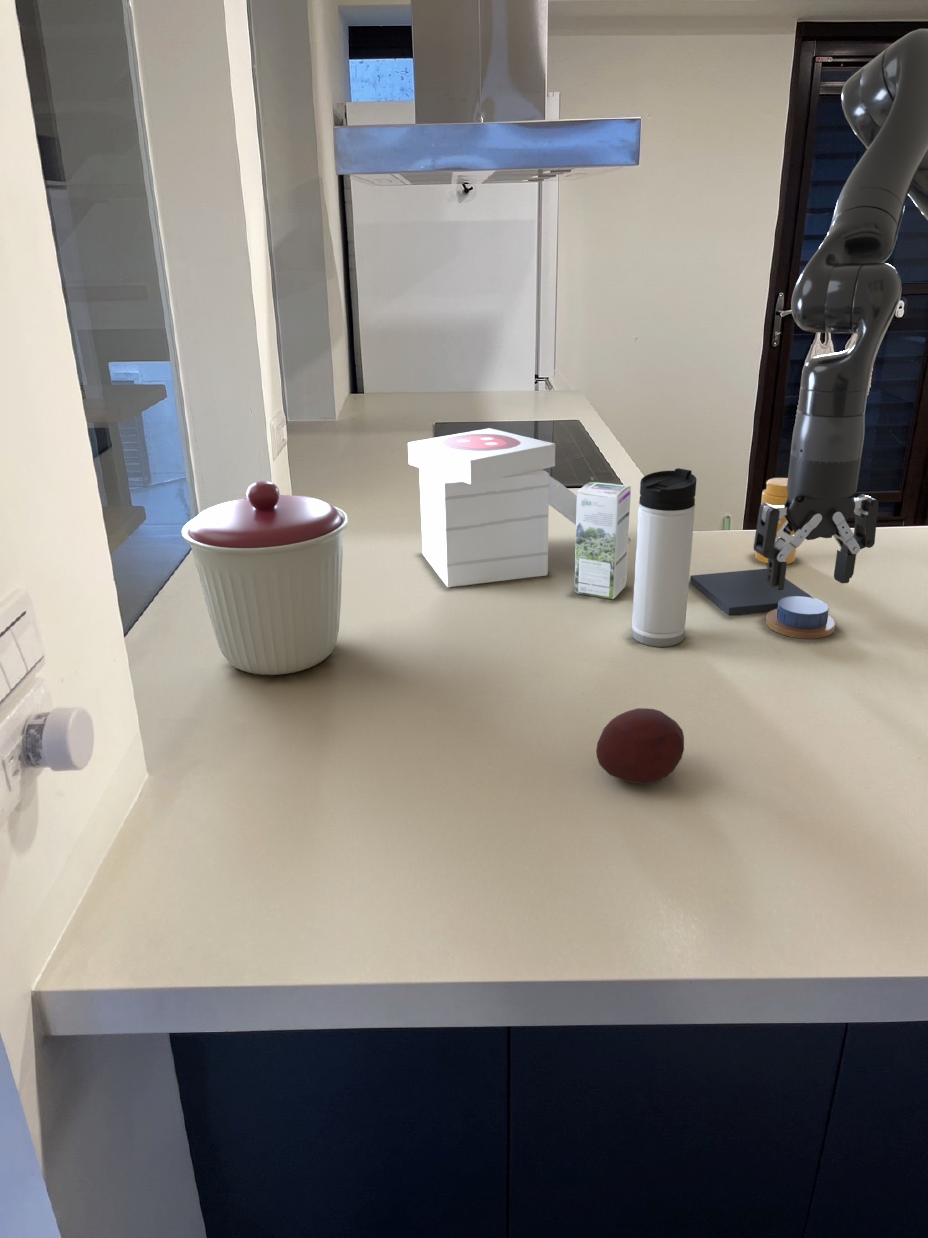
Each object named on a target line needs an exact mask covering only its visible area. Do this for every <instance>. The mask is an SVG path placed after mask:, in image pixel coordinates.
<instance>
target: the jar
mask: <svg viewBox="0 0 928 1238" xmlns="http://www.w3.org/2000/svg"><path fill="white" fill-rule="evenodd" d="M787 482H788V477H772V478H769V479H767V480H766V482H765V485H766V486H765V487H766V488H765V489H762V492H761V498H760V501H761V502H760V505H761V504H763V503H768V504H769V505H771V506H779V505H784V504H785V502H786V500H787V498H788V490H787ZM781 521H782V522H781V523H780V524H778V526H777V532H778V531H779V530H780V528H781V527H782V526H783V525H784V523H785V522H786V521H787V519H786V518H785V516H783V517H782V519H781ZM777 532H776V537H777ZM794 534H795V532H794V531H792V532H791V534H790V536H792V535H794ZM775 539H776V538H775ZM754 553H755V555H754V558H755V559H756V560H757V561H759V562H761V563H764V564H767V565H768V558H765V557H764V556H762V555H761V554H759V553H758V552H756V551H755V552H754ZM796 554H797V548H794V549H793V550H792V552H791V553H790V554H789V556H788V557H787V558H786V559H785V561H787V565H790V564H792V563H794V562H795V561H796Z"/></svg>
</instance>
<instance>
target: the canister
mask: <svg viewBox="0 0 928 1238" xmlns="http://www.w3.org/2000/svg"><path fill="white" fill-rule="evenodd" d="M349 521H350V520H349V515H348V514H347V513H346V512H345V511H344V510H342V509H340V508H339V507H336V506H334V505H332V504H331V503H329V502H328V501H325V500H322V499H320V498H319V499H318V498H316V497H311V496H306V495H294V494H293V495H292V494H281V493H280V489H279V487H278V485H276V484H275V483H273V482H272V481H269V480H259V481H256V482H253V483H252V484H251V485H249V486H248V488H247V490H246V497H242V498H237V499H232V500H229V501H225V502H222V503H218V504H215V505H213V506H210V507H208V508H207V509H204V510H202V511H201V512H200V513H199V514H197V516H195V517H194V518H192V519H191V520H189V521H188V522H187V523H186V524H185V525H184V526H183V527H182V529H181V535H182V538H183V540H184V541H185V542H186V543H187V544H189V545H190V548H191V552H192V555H193V560H194V564H195V567H196V571H197V575H198V579H199V581H200V586H201V590H202V593H203V597H204V601H205V605H206V608H207V611H208V612H207V613H208V616H209V618H210V622H211V625H212V628H213V631H214V632H213V633H214V636H215V639H216V641H217V644H218V647H219V650H220V652H221V654H222V655H223V657H224V658H225V660H226V661H227V662H228V663H229V664H230V665H231V666H233V667H234V668H235V669H238V670H240V671H242V672H246V673H248V674H254V675H262V676H274V675H275V676H276V675H277V676H280V675H288V674H294V673H297V672H303V671H305V670H307V669H310V668H312V667H314V666H317V665H318V664H321V663H322V662H323V661H325V660H326V659H327V658H328V657H329V656H330V655H331V654H332V652H333V651H334V648H335V647H336V645H337V642H338V637H339V633H340V623H341V622H340V619H341V605H342V584H343V583H342V582H343V557H344V556H343V555H344V553H343V552H344V531H345V530H346V529H347V527H348V525H349Z"/></svg>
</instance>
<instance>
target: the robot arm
mask: <svg viewBox="0 0 928 1238" xmlns="http://www.w3.org/2000/svg"><path fill="white" fill-rule="evenodd" d="M840 101H841V107H842V111H843V114H844V117H845V119H846V120H847V122H848V124H849V126H850V127H851V129H852V131H853V132H854V134H855V135H856V136H857V138H858V139H859V140H860V141H861V143H862V144H863V145H864V146H865V148H866V150H865V152H864V153H863V155H862V156H861V158H860V159H859V161H858V162H857V163H856V164H855V167H854V168H853V170H852V171H851V173H850V175H849V176H848V178H847V179H846V182H845V183H844V185H843V187H842V189H841V192H840V194H839V197H838V199H837V202H836V206H835V209H834V212H833V215H832V220H831V223H830V227H829V230H828V232H827V235H826V236H825V238H824V240H823V241H822V243H821V244H820V246H819V247H818V249H817V250H816V252H815V253H814V254H813V256H812V257H811V258H810V260H809V261H808V262H807V264H806V266H805V267H804V269H803V270H802V272H801V273H800V275H799V277H798V279H797V281H796V283H795V286H794V289H793V292H792V295H791V303H790V305H791V306H790V309H791V316H792V317H793V320H794V322H795V323H796V325H797V327H799V328H800V329H801V330H803V331H805V332H808V333H809V332H810V333H819V334H820V333H821V334H822V333H824V334H825V333H826V334H828V333H829V334H830V333H831V334H857V335H856V338H855V341H854V343H853V344H852V345H851V346H850V347H849V348H847V349H845V350H843V351H839V352H833V353H829V354H823V355H822V354H821V355H817V356H814V357H811V358H809V359H808V360H806V362H805V363H804V365H803V367H802V372H801V378H800V388H799V397H798V405H797V414H796V418H795V423H794V426H793V431H792V436H791V437H792V439H791V443H790V444H791V445H790V455H789V466H788V474H787V478H788V482H787V490H788V498H787V500H786V502H785V504H784V505H779V506H771V505H769V504H768V503H763V504H761V503H760V506H759V510H758V516H757V523H756V529H755V535H754V541H753V551H754V552H755V553H756V552H758V553H759V554H761V555H762V556H764V557H765V558H768V564H767V566H766V567H767V568H766V569H767V576H766V579H767V582H768V583H769V584H770V586H771V587H772V588H774V589H775V590H783V589H784V583H785V578H786V573H787V567H788V564H787V561H785V559H786V558H787V557H788V556H789V554H790V553H791V552H792V550H793V549H794V548H796V549H798V548H799V547H800V546H801V545H802V544H803V542H804V541H805V540H806V541H812V540H813V541H814V540H817V539H820V538H823V539H832V538H834V540H835V542H836V543H837V544H838V546H839V547H840V549H837V550H836V558H835V563H834V564H835V565H834V571H833V578H834V580H835V581H837V582H839V583H840V584H841V585H842V584H843V585H844V584H848V583H849V582H850V579H852V578H853V575H854V573H855V566H856V559H857V554H859V552H860V551H861V550H863V549H865V548H867V549H870V548H873V546H874V545H875V541H876V532H877V524H878V523H877V521H878V513H879V512H878V511H879V501H878V500H877V499H875V498H873V497H872V496H869V495H866V494H864V493H861V494H859V495H858V496H857V497H854V495H855V494H856V492H857V489H858V481H859V474H860V468H861V460H862V454H863V447H864V440H865V431H866V430H865V427H866V426H865V424H866V423H865V419H866V418H865V417H866V413H865V412H866V407H867V401H868V395H869V394H868V393H869V387H870V381H871V376H872V371H873V367H874V365H875V361H876V357H877V354H878V352H879V350H880V346H881V344H882V342H883V339H884V337H885V335H886V333H887V331H888V328H889V326H890V325H891V322H892V320H893V318H894V316H895V313H896V311H897V308H898V305H899V303H900V300H901V297H902V280H901V277H900V275H899V272H898V271H897V270H896V268H895V267H894V266H892V265H891V264H889V263H885V262H886V261H887V260H888V259H889V258H890V256H891V255H892V253H893V251H894V249H895V246H896V242H897V239H898V235H899V230H900V227H901V223H902V219H903V216H904V211H905V207H906V204H907V200H908V196H909V198H910V199H911V201H913V203H914V204H915V206H916V207H917V208H918V210H919V211H920V212H921V214H922V215H923V217H924V218H925V219H926V220H927V221H928V28H918V29H915V30H912V31H910V32H908V33H907V34H905V35H904V36H902V37H901V38H898V39H897V40H896V41H894V42H893V43H892V44H890V45H889V46H888V47H887V48H885V49H884V50H883V51H881V52H880V53H879V54H878V55H877V56H875V57H874V58H873V59H871V60H870V61H869V62H868V63H866V64H865V65H864V66H862V67H861V68H860V69H858V70H857V71H856V72H855V73H854V74H853V75H851V76H850V77H849V78H848V79H847V80H846V81H845V83H844V85H843V86H842V89H841V96H840ZM853 513H854V514H855V515H854V516H855V517H854V529H853V531H852V529H851V527H850V526H849V524H848V522H847V520H848V519H849V518H850V516H851V515H852V514H853ZM783 516H785V518H786V519H787V521H786V522H785V523H784V525H783V526H782V527H781V528H780V530H779V531H778V532H777V526H778V524H780V523H781V522H782V521H781V519H782V517H783ZM792 531H794V532H795V534H794V535H792V536H790V534H791V532H792ZM776 532H777V537H776ZM775 538H776V539H775Z"/></svg>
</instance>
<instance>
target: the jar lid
mask: <svg viewBox="0 0 928 1238" xmlns="http://www.w3.org/2000/svg"><path fill="white" fill-rule="evenodd" d="M814 598H815V597H813V598H810V597H803V596H791V597H786V598H783V599H781V600H779V602H778V609H777V619H778V620H779V621H780V622H781V623H783V624H785V625H788V626H791V627H795V628H803V629H814V628H820V627H822V626H824V625H826V624H827V619H828V615H829V610H830V608H829V607H830V606H829V605H828V604H827V603H826V602H824V601H822V600H821V599H818V598H815V599H814Z"/></svg>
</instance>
